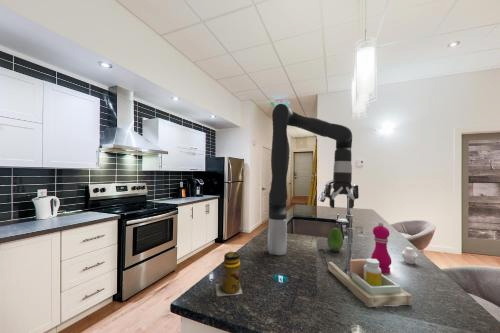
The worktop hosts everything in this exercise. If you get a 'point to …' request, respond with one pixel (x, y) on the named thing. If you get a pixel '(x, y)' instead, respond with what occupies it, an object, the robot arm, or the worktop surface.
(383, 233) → the pepper mill
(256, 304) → the worktop surface
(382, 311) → the worktop surface
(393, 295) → the bay
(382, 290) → the drawer
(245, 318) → the worktop surface
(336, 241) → the avocado
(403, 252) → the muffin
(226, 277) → the condiment
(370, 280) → the supplement bottle
